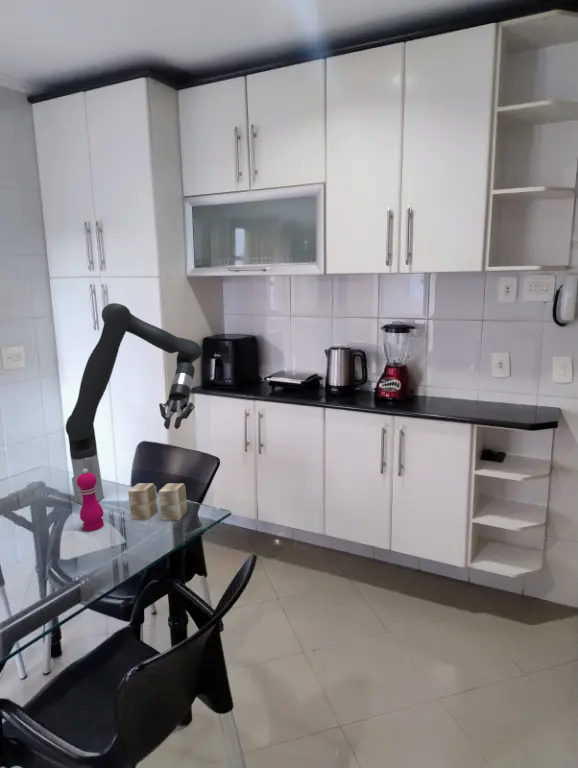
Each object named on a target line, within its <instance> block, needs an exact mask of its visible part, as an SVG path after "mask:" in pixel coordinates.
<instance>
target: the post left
mask: <svg viewBox="0 0 578 768" xmlns="http://www.w3.org/2000/svg"><path fill="white" fill-rule="evenodd" d="M155 486H156V485H155V483H154V482H153V483H147V482H146V483H141V482H140V483H137V484H136V485H135V484H134V485H133V487H132V488H130V489H129V490H127V494H128V500H129V507H130V517H131V520H136V521H137V520H140V521H141V520H142V521H143V520H144V521H146V520H147V521H148V520H150V519H151V518H152V517H153V516H154V515H155V514H156V513H158V511H159V510H158V503H157V498H156V494H155Z"/></svg>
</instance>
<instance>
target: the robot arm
mask: <svg viewBox="0 0 578 768" xmlns="http://www.w3.org/2000/svg"><path fill="white" fill-rule="evenodd" d="M101 319H102V321H103V328H102V331H101V334H100V337H99V340H98V342H97V343H96V345H95V347H94V348H93V350H92V352H91V353H90V355H89V356H88V359H87V362H86V364H85V368H84V370H83V373H82V377H81V380H80V385H79V391H78V397H77V400H76V403H75V405H74V408H73V410H72V412H71V414H70V415H69V417H68V418H67V420H66V423H65V432H66V435H67V436H68V438H67V439H68V445H69V446H68V447H69V454H70V461H71V467H72V473H73V477H72V478H71V483H72V490H73V496H74V503H78V504H80V505H82V504H83V497H82V494H80V487H78V485H77V478H78V477H79V476H80V475H81V474H83V473H82V470H83V469H88V473H93V474H94V475H95V476H96V479H97V481H96V484H95V486H96V491H95V495H96V499H97V501H98V502H101V500H103V499H104V497H105V496H104V489H103V483H102V482H103V481H102V476H101V468H100V462H99V456H98V448H97V447H98V446H97V440H96V432H95V425H94V423H95V418H96V414H97V411H98V407H99V404H100V402H101V400H102V399H103V396H104V394H105V392H106V389H107V387H108V384H109V382H110V379H111V377H112V374H113V371H114V367H115V364H116V361H117V357H118V354H119V350H120V346H121V344H122V341H123V339H124V338H125V335H126V333H129V334H132V335H133V336H137V337H138V338H140V339H142V340H144V341H145V342H147V343H149V344H150V345H152V346H154V347H155V348H157V349H160V350H162V351H164V352H166V353H168V354H174V353H177V355H176V370H175V372H174V377H173V379H172V383H171V386H170V390H169V394H168V398H167V400H166V402H165V403H162V402H160V403H159V406H158V407H159V412H160V416H161V417H162V418H163V420H164V423H163V426H164V429H166V430H169V429H170V426H171V420H172V418H173V417H174V415H175V413H177V414H176V417H175V422H174V426H173V427H174V429H175V430H179V428H180V427H181V424H182V421H183V420H184V419H185V420H187V419H188V418H189V416H190V414H191V413H192V412H193V410H194V409H195V407H196V406H195V404H194V403H193V402H192V401H191V402H189V400H190V396H191V392H192V389H193V382H194V381H193V380H194V377H195V371H196V368H195V366H194V365H193V363H194V362H195V361H197V360H199V359H200V358H201V356H202V355H203V348H202V346H201V345H200V344H198V342H196V341H193V340H191V339H188V338H184V337H180V336H176V335H174V334H173V333H170V332H168V331H167V330H165V329H162V328H160V327H158V326H155V325H153V324H151V323H150V322H149V323H148V322H147V321H144V320H143V319H140V318H139V317H137V316H135V315H134V314H132V313H131V311H130V309H129V308H128V307H127V306H125V305H123V304H121V303H116V302H114V303H109V304H106V305H105V306H104V307H103V308H102V311H101Z"/></svg>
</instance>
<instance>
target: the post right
mask: <svg viewBox="0 0 578 768" xmlns="http://www.w3.org/2000/svg"><path fill="white" fill-rule="evenodd" d="M185 490H186V485H185V483H176V482H174V483H172V482H171V483H166V484H165V485H164V486H163V487H161V488H160V489H159V490H158V498H159V504H160V505H159V506H160V514H161V520H162V521H180V520H181V519H182V518H183V517H184V516H185V515H186V514H187V513H188V503H187V494H186V495H185Z"/></svg>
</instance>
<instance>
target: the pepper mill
mask: <svg viewBox="0 0 578 768" xmlns="http://www.w3.org/2000/svg"><path fill="white" fill-rule="evenodd" d="M82 473H83V474H81V475H80V476H79V477H78V478H77V485H78V487H80V494H82V497H83V504H81V509H80V512H79V519H80V521H82V522H83V523H82V529H83V530H84V531H85V532H92V531H96V530H99V529H101V528H103V527H104V525H105V523H104V519H103V516H104V510H103V509H104V508H103V507H102V506H101V503H100V501H97V499H96V495H95V491H96V486H95V484H96V481H97V479H96V476H95V475H94V474H93V473H88V469H83V470H82Z"/></svg>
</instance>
